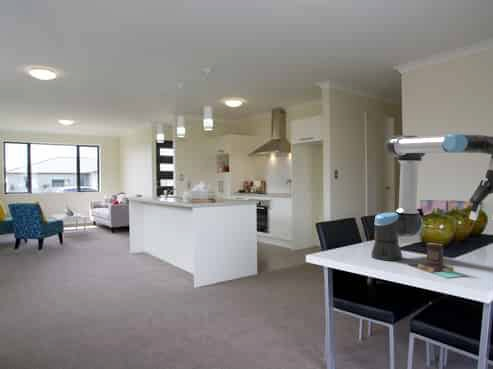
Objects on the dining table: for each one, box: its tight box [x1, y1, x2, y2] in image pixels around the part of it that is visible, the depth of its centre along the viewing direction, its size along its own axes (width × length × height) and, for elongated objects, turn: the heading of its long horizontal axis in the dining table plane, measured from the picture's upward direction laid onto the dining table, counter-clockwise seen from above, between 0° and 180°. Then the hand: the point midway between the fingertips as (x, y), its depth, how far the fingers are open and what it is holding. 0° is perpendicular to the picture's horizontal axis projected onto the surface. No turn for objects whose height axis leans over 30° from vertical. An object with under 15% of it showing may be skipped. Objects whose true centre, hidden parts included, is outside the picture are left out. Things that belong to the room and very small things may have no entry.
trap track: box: [408, 262, 454, 274], centre depth 159 cm, size 15×11×2 cm
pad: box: [432, 270, 469, 279], centre depth 148 cm, size 8×11×1 cm
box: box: [426, 242, 444, 272], centre depth 156 cm, size 6×4×12 cm
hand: (483, 220), depth 142 cm, fingers open, 13 cm apart
